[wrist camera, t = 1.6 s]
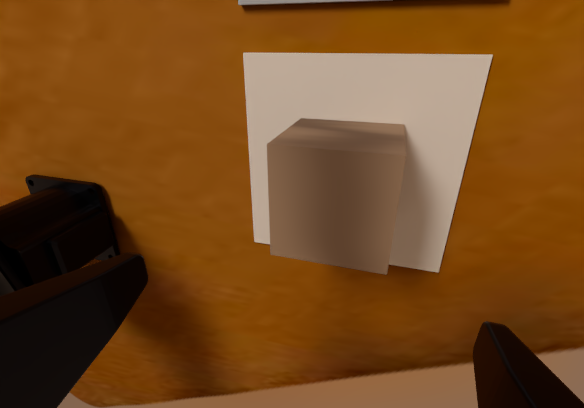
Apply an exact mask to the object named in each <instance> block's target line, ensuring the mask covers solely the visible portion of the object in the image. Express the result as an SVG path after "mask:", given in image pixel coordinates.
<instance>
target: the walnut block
mask: <svg viewBox="0 0 584 408" xmlns="http://www.w3.org/2000/svg"><path fill="white" fill-rule="evenodd" d="M405 160H406V145H405V131H404V124H389V123H372V122H356V121H339V120H323V119H307V118H301V119H299V120H298V121H297V122H295V123H294V124H293V125H291V126H290V127H289V128H287V129H286V130H285V131H283V132H282V133H281V134H280V135H278V136H277V137H276V138H274V139H273V140H272V141H270V142H269V143H268V144H267V167H268V196H269V226H270V254H271V255H277V256H282V257H288V258H294V259H299V260H305V261H311V262H316V263H322V264H328V265H334V266H339V267H345V268H351V269H356V270H362V271H368V272H374V273H379V274H385V275H387V271H388V265H389V259H390V253H391V247H392V240H393V234H394V228H395V222H396V216H397V210H398V204H399V197H400V191H401V185H402V179H403V173H404V167H405Z"/></svg>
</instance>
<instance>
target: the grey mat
mask: <svg viewBox="0 0 584 408" xmlns="http://www.w3.org/2000/svg"><path fill="white" fill-rule="evenodd" d="M360 1H391V0H238V5H267V4H298V3H329V2H360Z"/></svg>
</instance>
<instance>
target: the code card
mask: <svg viewBox="0 0 584 408" xmlns="http://www.w3.org/2000/svg"><path fill="white" fill-rule="evenodd" d="M492 56H493V55H483V54H359V53H243V59H244V76H245V93H246V110H247V127H248V144H249V160H250V177H251V194H252V211H253V228H254V242H258V243H264V244H270V226H269V196H268V167H267V144H268V143H269V142H270V141H272V140H273V139H274V138H276V137H277V136H278V135H280V134H281V133H282V132H283V131H285V130H286V129H287V128H289V127H290V126H291V125H293V124H294V123H295V122H297V121H298V120H299V119H301V118H307V119H323V120H339V121H356V122H372V123H389V124H404V131H405V145H406V160H405V167H404V173H403V179H402V185H401V191H400V197H399V204H398V210H397V216H396V222H395V228H394V234H393V240H392V247H391V253H390V259H389V264H390V265H396V266H402V267H408V268H414V269H420V270H426V271H432V272H438V273H439V269H440V265H441V261H442V257H443V253H444V249H445V245H446V241H447V237H448V233H449V229H450V224H451V220H452V216H453V212H454V208H455V204H456V200H457V196H458V192H459V188H460V184H461V180H462V176H463V172H464V168H465V164H466V160H467V156H468V152H469V148H470V144H471V140H472V136H473V132H474V128H475V124H476V120H477V116H478V112H479V108H480V104H481V100H482V96H483V92H484V88H485V84H486V80H487V76H488V72H489V68H490V64H491V60H492Z"/></svg>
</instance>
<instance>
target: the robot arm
mask: <svg viewBox="0 0 584 408" xmlns="http://www.w3.org/2000/svg"><path fill="white" fill-rule="evenodd" d="M26 183H27V186H28V188H29V191H30V195H28V196H26V197H23V198H21V199H18V200H16V201H13V202H11V203H8V204H6V205H3V206H1V207H0V408H57V407H58V405H60V403H61V402H62V401H63V399H64V398H65V397H66V396H67V394H68V393H69V392H70V390H71V389H72V388H73V387H74V385H75V384H76V383H77V381H78V380H79V379H80V378H81V376H82V375H83V374H84V372H85V371H86V370H87V369H88V367H89V366H90V365H91V363H92V362H93V361H94V360H95V358H96V357H97V356H98V354H99V353H100V352H101V351H102V349H103V348H104V347H105V345H106V344H107V343H108V342H109V340H110V339H111V338H112V336H113V335H114V334H115V332H116V331H117V330H118V328H119V327H120V325H121V324H122V322H123V321H124V319H125V318H126V316H127V314H128V313H129V311H130V310H131V308H132V307H133V305H134V304H135V302H136V300H137V299H138V297H139V296H140V294H141V293H142V291H143V290H144V288H145V286H146V285H147V282H148V273H147V269H146V265H145V261H144V258H143V256H142V255H140V254H137V253H132V252H127V253H124V254H121V255H120V253H119V249H118V246H117V242H116V239H115V235H114V231H113V228H112V224H111V221H110V217H109V214H108V210H107V207H106V203H105V199H104V196H103V192H102V189H101V187H100V186H99V185H98V184H96V183H92V182H85V181H78V180H70V179H63V178H56V177H48V176H41V175H30V176H27V177H26ZM93 259H97V260H102V261H101V262H98V263H95V264H92V265H89V266H87V267H84V268H82V267H83V266H85V265H86V264H87V263H89V262H90V261H92V260H93ZM80 268H81V269H80ZM473 362H474V372H475V381H476V391H477V400H478V408H584V403H583V402H582V401H581V400H580V399H579V398H578V397H577V396H576V395H575V394H574V393H573V392H572V391H571V390H570V389H569V388H568V387H567V386H566V385H565V384H564V383H563V382H562V381H561V380H560V379H559V378H558V377H557V376H556V375H555V374H554V373H552V371H551V370H550V369H549V368H548V367H547V366H546V365H545V364H544V363H543V362H542V361H541V360H540V359H539V358H538V357H537V356H536V355H535V354H534V353H533V352H532V351H531V350H530V349H529V348H528V347H527V346H526V345H525V344H524V343H523V342H522V341H521V340H520V339H519V338H518V337H517V336H516V335H515V334H514V333H513V332H512V331H511V330H510V329H509V328H508V327H506V326H505V325H502V324H498V323H493V322H488V321H486V322H483V324H482V325H481V328H480V330H479V333H478V336H477V339H476V342H475V345H474V348H473Z"/></svg>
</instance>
